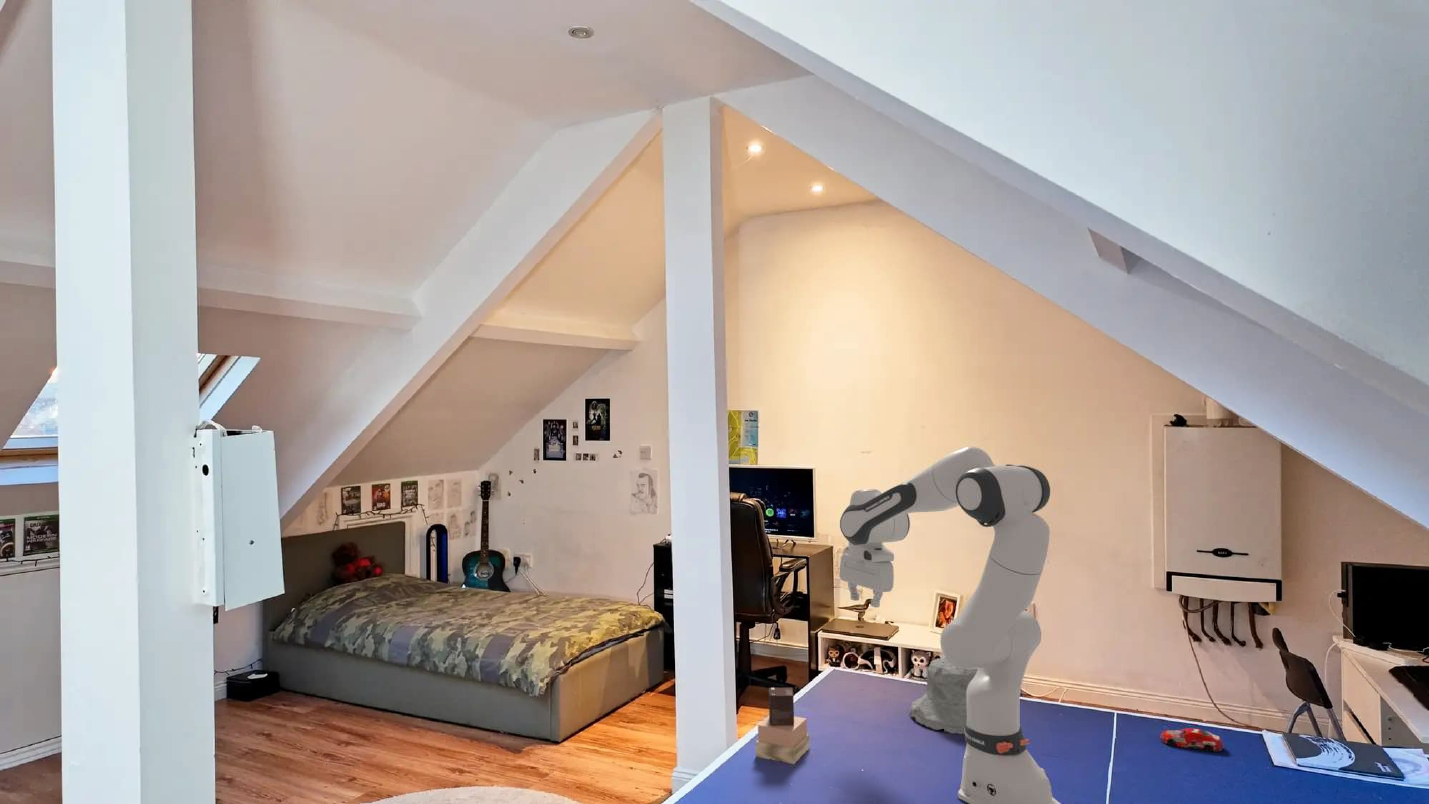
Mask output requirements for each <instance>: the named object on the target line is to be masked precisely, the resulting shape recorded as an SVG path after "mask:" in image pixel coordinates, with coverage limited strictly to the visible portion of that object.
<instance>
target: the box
mask: <svg viewBox="0 0 1429 804" xmlns="http://www.w3.org/2000/svg"><path fill="white" fill-rule="evenodd" d="M794 704H795V703H794V688H793V687H769V688H768V708H769V709H768V712H769V713H768V715H769V716H768V717H769V720H770V725H794V716H795V710H794V709H795V707H794Z"/></svg>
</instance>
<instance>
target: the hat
mask: <svg viewBox="0 0 1429 804" xmlns="http://www.w3.org/2000/svg"><path fill="white" fill-rule="evenodd" d="M977 671H978V669H959V668H956V667H954V666H952V665H951V664H950V663H949V662H948V661H947V659H946V658H935V659H933V660H931V661H930V664H929V665H928V668H927V673H926V674H927V675H926V687H925V693H924V694H923V695H922V697H920V698H917V699H916V700H914V701H913V702H912V703H911V705H910V707H909V710H908V712H909V715H910V718H914V719H915V722H916V723H919V724H920V725H924V726H925V727H927V728H930V729H931V730H932V729H933V731H935V730H937V731H939V730H943V729H944V730H943V731H944V733H946V732H947V734H948V733H950V734H958V735H965V732H964V729H965V723H966V721H967V703H966V691H967V687H968V685H969V683H970V682H971V680H972V679H973V678H974V676H975V675H976V673H977Z"/></svg>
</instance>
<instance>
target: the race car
mask: <svg viewBox="0 0 1429 804" xmlns="http://www.w3.org/2000/svg"><path fill="white" fill-rule="evenodd" d="M1160 740H1161V742H1163V743H1164V744H1166V745H1167V744H1168V746H1170V747H1176V746H1177V747H1181V748H1185V749H1186V748H1187V749H1195V750H1201V751H1205V752H1208V753H1209V752H1210V753H1212V752H1221V751H1222V750H1224V749H1223V747H1224V746H1223V745H1224V744H1223V742H1222V739H1221V737H1220V736H1218V735H1216V734H1213V733H1212V732H1209V731H1206V730H1202V729H1198V728H1192V727H1191V728H1190V727H1189V728H1182V729H1179V730H1172V729H1170V730H1165V731H1164V730H1163V731H1162V732H1161V734H1160Z"/></svg>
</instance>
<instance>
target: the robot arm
mask: <svg viewBox="0 0 1429 804" xmlns="http://www.w3.org/2000/svg"><path fill="white" fill-rule="evenodd" d="M1050 486H1051V485H1050V482H1049V479H1048V478H1047V477H1046V476H1045V474H1044V473H1043V472H1042V471H1040V470H1039V469H1037V468H1035V467H1032V466H1028V465H1021V464H1011V463H1010V464H1009V463H1007V464H1005V465H995V464H994V462H993V460H992V458H991V456H990V455H989V454H988V452H986V451H984V450H983V449H981V448H979V447H976V446H967V447H964V448H961V449H960V448H959V449H958V450H955V451H953V452H951V453H950V454H949V453H948V454H947V455H945V456H944V457H942V458H940V459H939V460H937V461H935V462H934V463H933V464H931V465H930V466H928V467H927V468H926V469H924V470H922V471H921V472H919V473H917V474H916V475H914V476H912V477H911V478H908V479H907V480H905V481H903V482H901V483H900V484H898V485H895V486H893V487H891V488H890V489H887V490H886V491H884V492H882V491H880V490H878V489H875V488H874V489H873V488H869V489H867V488H866V489H859V490H855V491H854V492H852V494H851V497H850V501H849V505H848V506H847V507H846V508H845V510H844V511H843V513H842V514H841V516H840V519H839V528H840V531H841V533H842V535H843V537H844V538H845V539H846V540H847V541H848V546H846V547H845V548H844V549H843V550H842V555H841V557H840V562H839V563H840V564H839V572H838V573H839V578H840V581H844V582H846V583H847V587H848V590H849V593H850V600H852V601H854V602H856V601H859V600H860V593H859V592H858V588H857V587H858V586H859V587H863V588H866V589H869V590H872V594H873V597H872V599H870V606H871V607H873V608H875V609H876V608H880V605H881V604H880V603H881V599H882V597H883V594H884V593H889V592H892V590H893V588H894V578H895V577H894V576H895V575H894V574H895V573H894V571H895V569H894V565H893V563H892V562H894V560H895V554H894V552H893V551H892V550H890V549H888V547H886V545H885V544H883V543H894V542H898V541H903V540H904V539H905V538H906V537H907V536H908V533H909V531H910V527H911V526H910V525H911V522H910V521H911V520H910V516H909V514H912V513H933V512H934V513H935V512H943V511H944V512H945V511H947V510H950V509H953V508H956V507H958V506H959V507H960V508H961V510H963V512H964V513H965V514H966V515H968V516H969V517H970V518H972V519H974V520H976V522H977V523H978V524H980V526H982V527H983V528H990V527H993V530H994V537H993V541H992V543H991V546H990V550H989V553H988V554H989V555H988V557H987V560H986V563H985V566H984V569H983V571H982V575H981V578H980V579H979V583H978V585H977V587H976V589H975V591H974V592H973V593H972V595H971V596H970V598H969V599H968V601H967V602H966V604H965V605H964V607H963V608H962V610H961V611H960V612H959V614H958V615H957V616H956V617H955V618H954V619H953V620H952V621H951V622H949V623H948V624H947V625H946V626H944V628H943V629H942V630H941V633H940V638H939V640H940V641H939V643H940V649H941V652H942V655H943V657H944V659H947V661H948V662H949V663H950V664H951V665H952V666H954V667H956V668H959V669H978V671H977V673H976V675H975V676H974V678H973V679H972V680H971V682H970V683H969V685H968V687H967V691H966V703H967V721H966V723H965V729H964V732H965V734H964V741H965V743H966V746H965V752H964V754H963V755H964V756H963V760H962V771H961V772H962V773H961V783H960V788H959V790H958V792H957V798H958V799H960V800H961V801H963V802H965V803H967V804H1061V802H1060V801H1058V800H1057V799H1056V798H1055V797H1053V793H1052V786H1051V783H1050V779H1049V778H1048V777H1047V772H1046V771H1045V769H1044V768H1043V767H1040V766H1039V765H1038V763H1037V762H1036V761H1035V759H1034V758H1033V756H1032V755H1031V754H1030V752H1029V751H1028V750H1027V748H1028V747H1027V745H1029V744H1030V742H1028V741H1030V738H1025V735H1024V732H1023V730H1022V727H1021V726H1020V724H1021V723H1020V704H1021V703H1020V698H1021V690H1022V685H1023V682H1024V677H1025V673H1026V670H1027V668H1028V664H1029V661H1030V659H1031V658H1032V656H1033V654H1034V652H1036V650H1037V648H1038V647H1039V646H1040V644H1041V641H1042V629H1041V626H1040V623H1039V622H1038V620H1037V619H1036V617H1035V616H1034V615H1033V614H1032V613H1031V612H1029V611H1027V610H1026V609H1028V608H1029V606H1030V605H1031V604H1032V602H1033V601H1034V597H1035V595H1036V592H1037V588H1038V585H1039V582H1040V579H1041V576H1042V573H1043V571H1044V567H1045V563H1046V559H1047V555H1048V552H1049V543H1050V535H1051V534H1050V533H1051V532H1050V527H1049V524H1048V523H1047V521H1046V520H1045V519H1043V518H1042V517H1041V515H1040V516H1039V514H1036V512H1038V511H1041V510H1042V509H1043V508H1044V507H1045V506H1047V504H1048V503H1049V499H1050V497H1051V487H1050Z"/></svg>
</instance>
